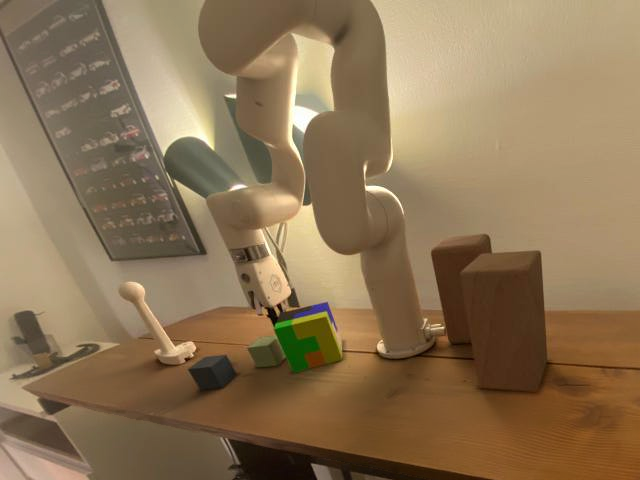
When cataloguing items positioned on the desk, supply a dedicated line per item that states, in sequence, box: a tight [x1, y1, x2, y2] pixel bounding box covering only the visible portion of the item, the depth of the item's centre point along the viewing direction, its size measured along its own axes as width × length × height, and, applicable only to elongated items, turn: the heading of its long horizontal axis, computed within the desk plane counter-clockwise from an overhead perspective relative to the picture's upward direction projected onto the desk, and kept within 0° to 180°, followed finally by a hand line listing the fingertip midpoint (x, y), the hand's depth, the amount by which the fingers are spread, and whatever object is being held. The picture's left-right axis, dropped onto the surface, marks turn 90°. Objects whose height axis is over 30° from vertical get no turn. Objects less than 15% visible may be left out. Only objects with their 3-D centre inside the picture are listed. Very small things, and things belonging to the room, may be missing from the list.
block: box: [430, 233, 493, 345], centre depth 76 cm, size 10×10×20 cm
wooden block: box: [460, 249, 549, 393], centre depth 60 cm, size 10×10×20 cm
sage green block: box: [246, 335, 287, 368], centre depth 83 cm, size 5×5×5 cm
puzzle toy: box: [273, 301, 343, 374], centre depth 80 cm, size 10×10×10 cm
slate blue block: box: [187, 354, 238, 391], centre depth 77 cm, size 5×5×5 cm
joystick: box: [118, 281, 197, 366], centre depth 90 cm, size 11×8×20 cm
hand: (284, 330), depth 89 cm, fingers closed
